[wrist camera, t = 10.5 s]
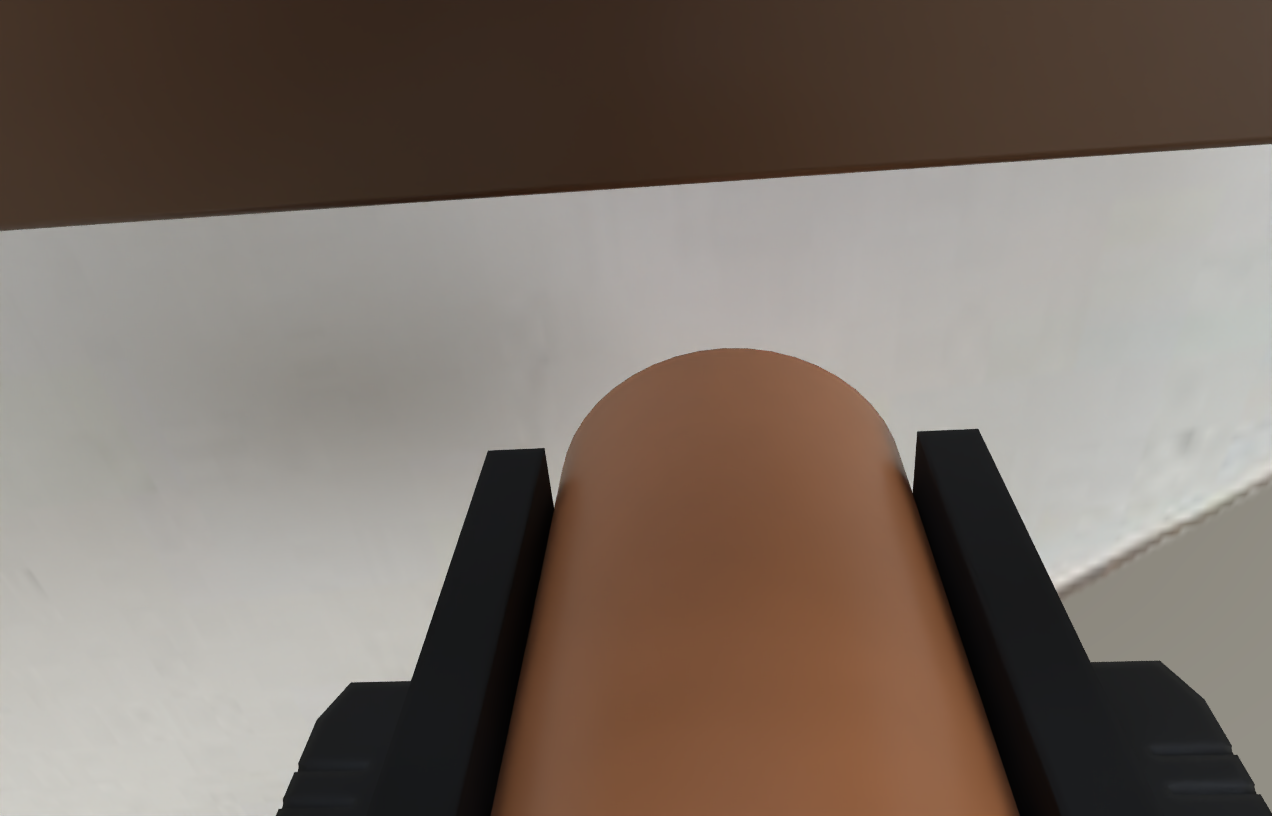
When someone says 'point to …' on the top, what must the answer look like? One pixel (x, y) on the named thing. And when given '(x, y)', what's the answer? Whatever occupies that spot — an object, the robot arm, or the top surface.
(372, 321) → the top surface
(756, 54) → the desk shelf
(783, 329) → the top surface
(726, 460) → the copper tin
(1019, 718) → the robot arm
